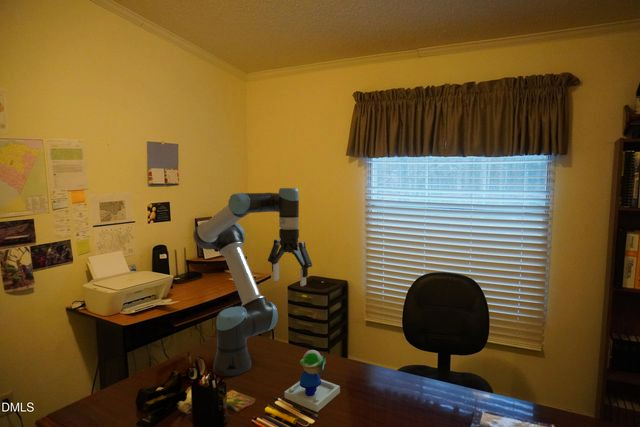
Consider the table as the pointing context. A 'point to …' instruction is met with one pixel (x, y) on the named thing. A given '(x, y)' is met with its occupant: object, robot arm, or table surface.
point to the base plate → (316, 401)
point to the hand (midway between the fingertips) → (289, 282)
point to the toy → (312, 371)
